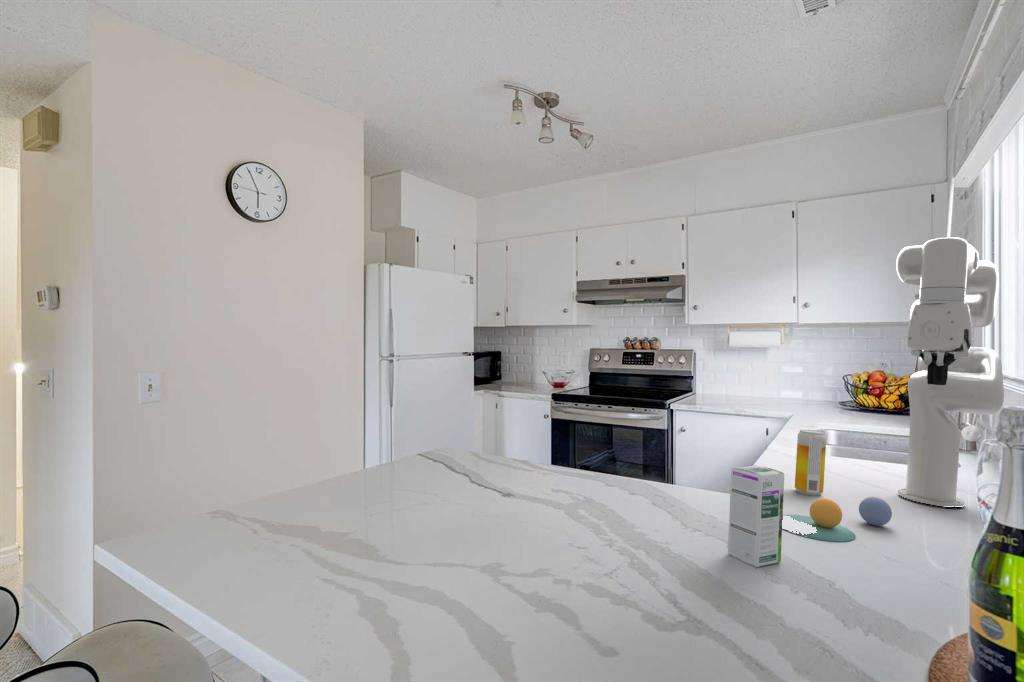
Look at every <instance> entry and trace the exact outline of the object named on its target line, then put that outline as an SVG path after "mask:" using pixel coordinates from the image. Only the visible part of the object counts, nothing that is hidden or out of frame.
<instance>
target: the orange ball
mask: <svg viewBox="0 0 1024 682" xmlns="http://www.w3.org/2000/svg"><path fill="white" fill-rule="evenodd" d="M809 515H810V516H809V517H811V518H812V520H813V521H814V522H815V523H816V524H817V525H819V526H821V527H824V528H833V527H835V526H837V525H840V524H841V522H842V520H843V510H842V509H841V507H840V506H839V505H838V504H837V502H835V501H833V500H832V499H829V498H819V499H816V500H814V501H813V502H812V503H811V505H810V507H809Z"/></svg>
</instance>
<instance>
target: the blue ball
mask: <svg viewBox="0 0 1024 682" xmlns="http://www.w3.org/2000/svg"><path fill="white" fill-rule="evenodd" d="M858 512H859V514H860V517H861V518H862V520H863V521H864V522H866V523H867V524H869V525H872V526H881V527H882V526H884V525H886V524H888V523H889V522H890V521H891V519H892V516H893V512H892V508H891V507H890V505H889V504H888V503H887V502H886V501H885V500H883V499H882V498H880V497H876V496H870V497H866V498H864V499H863V500H861V502H860V503H859V505H858Z"/></svg>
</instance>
